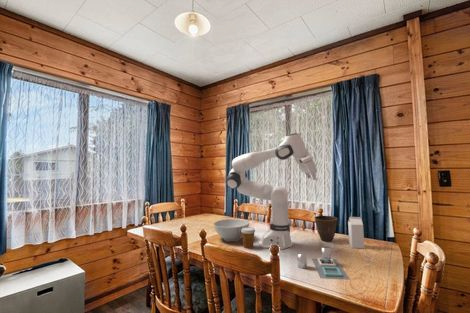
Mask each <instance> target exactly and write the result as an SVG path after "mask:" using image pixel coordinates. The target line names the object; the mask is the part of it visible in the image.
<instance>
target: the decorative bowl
mask: <svg viewBox="0 0 470 313" xmlns="http://www.w3.org/2000/svg"><path fill="white" fill-rule="evenodd" d="M213 227H214V230H215V231H216V233H217V235H218V236H219V237H220V238H222V239H223V241H225V240H226V241H225V242H228V241H234V242H238V241H241V239H242V238H243V237H242V232H241V230H242V228H245V227H250V221H248V220H247V219H241V218H228V219H221V220H217V221H215V222H214V223H213Z"/></svg>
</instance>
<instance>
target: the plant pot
mask: <svg viewBox="0 0 470 313" xmlns="http://www.w3.org/2000/svg"><path fill="white" fill-rule="evenodd" d="M314 220H315V226H316V229H317V232H318V235H319V238H320V240H321V242H324V243H332V242H333V241H334V239H335V234H336V230H337V225H338V218H337V217H336V216H330V215H317V216H315V217H314Z"/></svg>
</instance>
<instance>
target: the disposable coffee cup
mask: <svg viewBox="0 0 470 313" xmlns="http://www.w3.org/2000/svg"><path fill="white" fill-rule="evenodd" d="M241 232H242V237H241V238H242V243H243V248H245V249H253V248H254V242H255V233H256V230H255V228H254V227H252V226H251V227H250V226H249V227H245V228H242V230H241Z"/></svg>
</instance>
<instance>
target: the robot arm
mask: <svg viewBox="0 0 470 313" xmlns="http://www.w3.org/2000/svg"><path fill="white" fill-rule="evenodd" d="M292 156H293V158H294V160H295V162H296V164H298V166H299V169H300V170H301V173H304V174H305V175H306V177H307V178H308V179H312V180H313V181H316V180H317V175H316V173H317V172H318V170H317V166H316V164H315V161H314V160H313V159H314V157H313V155H311V154H310V152H309V150H308V149H307V148H306V145H305V142H304V140H303V137H302V136H301V135H300V133H298V132H297V133H296V132H294V133H290V134H288V135H286V136H285V138H284V140H283V141H281V143H279V145H278V146H276V147H275V146H274V147H273V148H269V149H266V150H261V151H254V152H253V151H252V152H247V153H244V154H240V155H239V156H237V157H234V158H233V159H232V161H231V167H232V168H231V169H230V171H229V173H228V175H227V177H226V179H225V184H226V186H227V187H228V188H229V189H231V190H236V191H237V192H238V193H239V194H242V195H243V196H247V197H249V198H254V199H259V200H267V201H270V202H271V211H272V212H271V214H272V216H271V218H272V222H269V224H268V225H269V229H267V230H266V231H265V232H264V233H263V235H262V236H261V239H260V240H259V242H258V246H259V248H264V249H270V248H269V247H270V245H271V244H276V245H278V246H279V247H280V249H279V250H285V249H287V248H290V247H292V246H293V243H292V238H291V235H290V234H291V224H290V220H289V218H290V215H289V202H288V201H289V200H288V199H289V198H288V197H289V192H288V190H287V189H286V188H285V187H284V186H280V185H273V184H268V183H262V182H258V181H254V180H249V179H247V178H248V172H247V171H251V170H254V169H255V168H258V167H259V166H261V165H262V164H264V163H265V162H266V161H268V160H270V159H273V158H277V159H278V160H281V161H285V160H288V159H289V158H290V157H292Z"/></svg>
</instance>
